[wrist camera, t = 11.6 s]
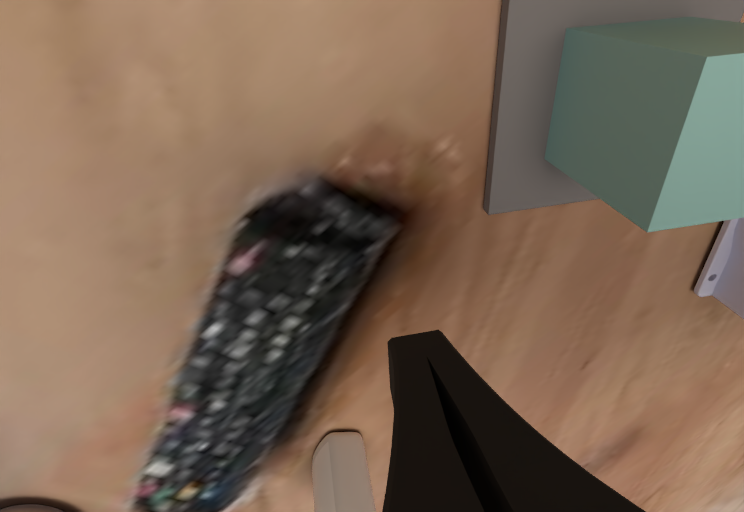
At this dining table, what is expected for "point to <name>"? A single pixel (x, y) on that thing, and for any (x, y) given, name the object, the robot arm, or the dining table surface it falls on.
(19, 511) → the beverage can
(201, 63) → the dining table surface
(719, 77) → the upright teal cuboid
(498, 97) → the base
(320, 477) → the eye dropper bottle
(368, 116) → the dining table surface
